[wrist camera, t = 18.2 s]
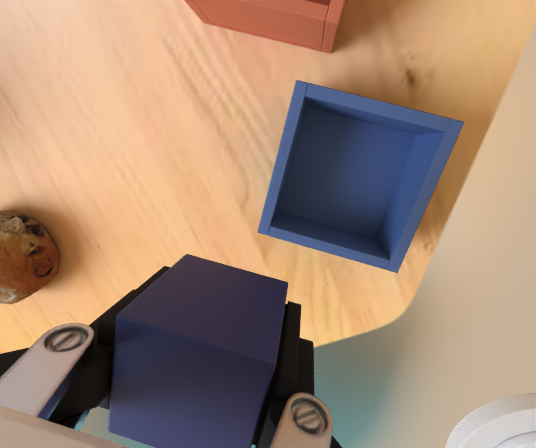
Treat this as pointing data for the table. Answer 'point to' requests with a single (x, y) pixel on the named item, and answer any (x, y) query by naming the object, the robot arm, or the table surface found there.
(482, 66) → the table surface
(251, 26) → the terracotta bin
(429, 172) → the blue bin
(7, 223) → the bread roll
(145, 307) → the navy block
